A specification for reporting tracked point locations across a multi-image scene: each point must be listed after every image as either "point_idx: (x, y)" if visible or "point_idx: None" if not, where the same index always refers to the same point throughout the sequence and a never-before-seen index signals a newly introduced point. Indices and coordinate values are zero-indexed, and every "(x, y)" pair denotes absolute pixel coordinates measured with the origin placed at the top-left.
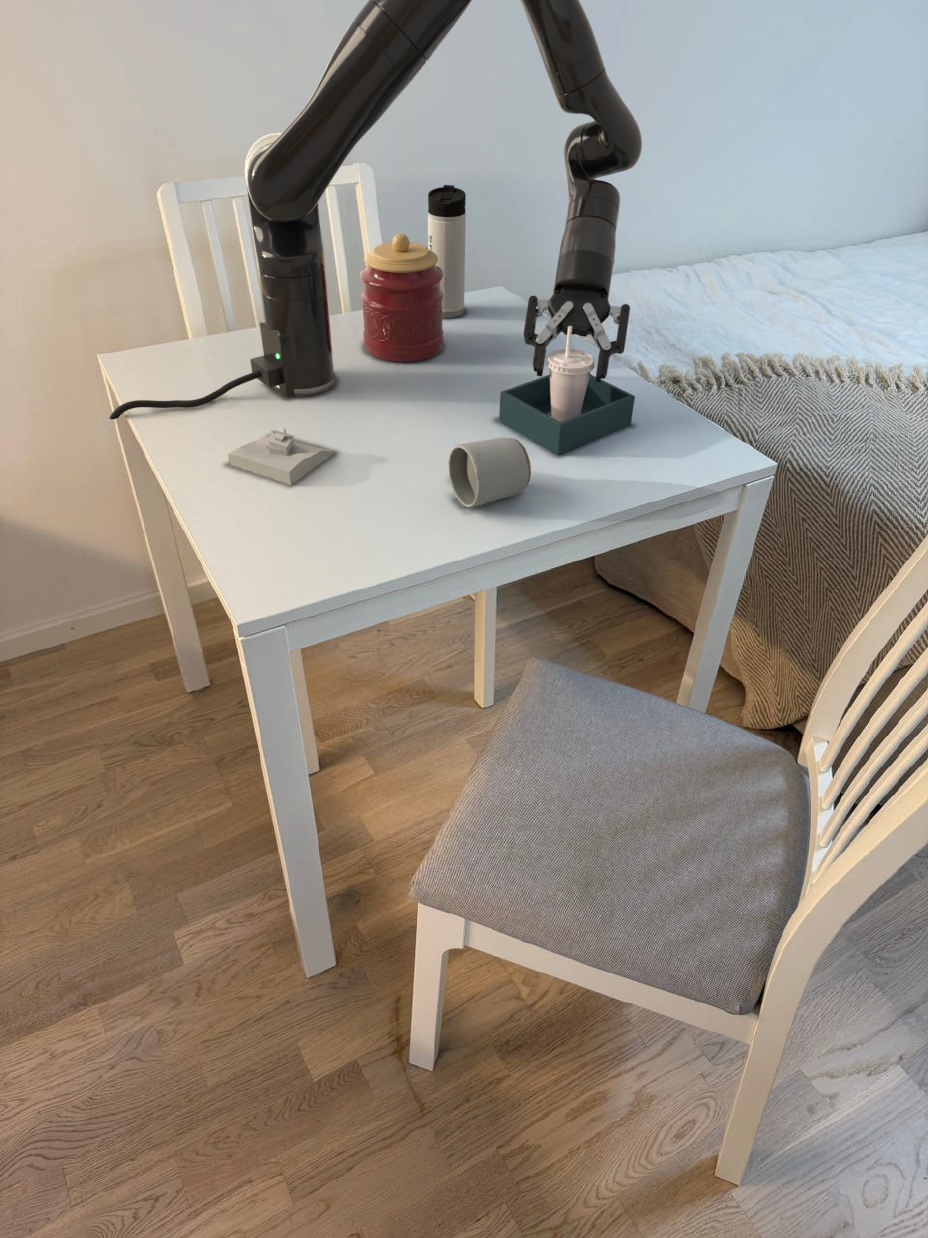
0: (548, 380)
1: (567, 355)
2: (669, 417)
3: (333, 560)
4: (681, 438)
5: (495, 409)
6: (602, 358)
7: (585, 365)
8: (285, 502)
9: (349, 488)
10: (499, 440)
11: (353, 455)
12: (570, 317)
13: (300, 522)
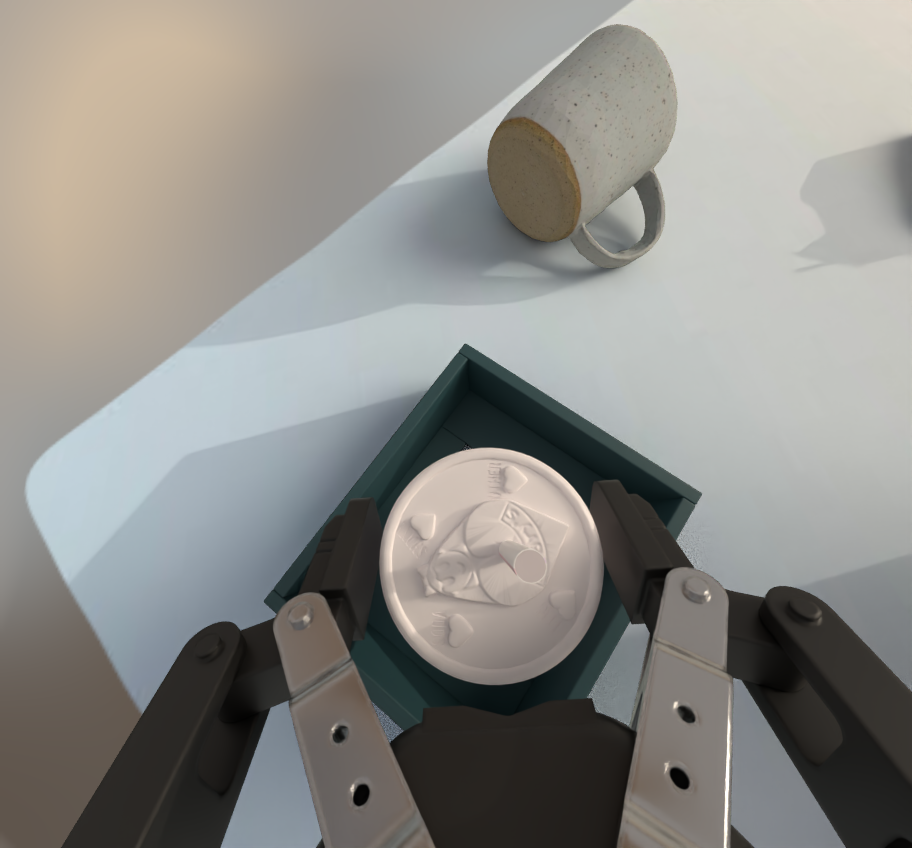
0: (578, 666)
1: (507, 540)
2: None
3: (716, 11)
4: (182, 550)
5: None
6: (335, 556)
7: (412, 499)
8: (888, 92)
9: (814, 155)
10: (578, 99)
11: (888, 251)
12: (580, 818)
13: (824, 60)
